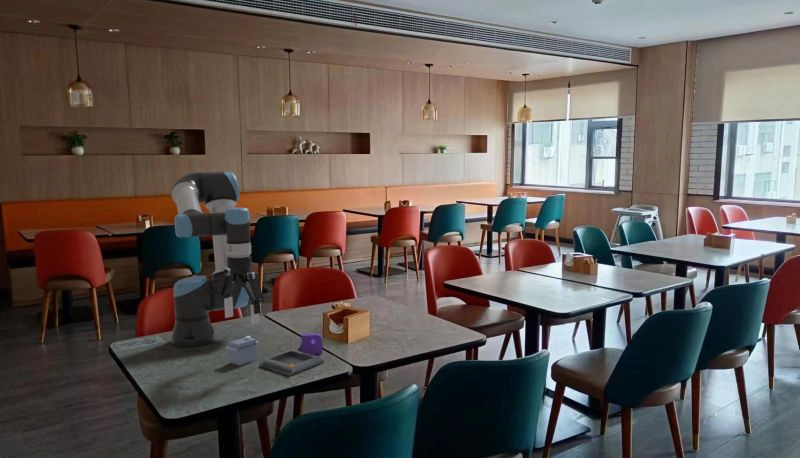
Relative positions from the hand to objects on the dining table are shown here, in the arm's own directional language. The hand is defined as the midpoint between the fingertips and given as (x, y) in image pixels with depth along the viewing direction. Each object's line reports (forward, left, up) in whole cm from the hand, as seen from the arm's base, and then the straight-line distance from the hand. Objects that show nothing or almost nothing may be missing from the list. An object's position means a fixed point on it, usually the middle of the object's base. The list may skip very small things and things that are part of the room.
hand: (242, 320), depth 196 cm
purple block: (+9, +23, -14) cm, 28 cm away
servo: (0, 0, -14) cm, 14 cm away
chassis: (+15, +7, -14) cm, 22 cm away
